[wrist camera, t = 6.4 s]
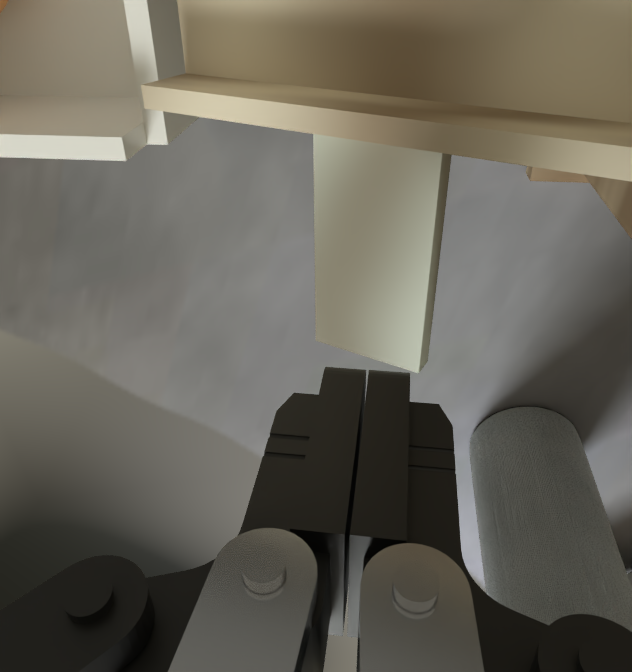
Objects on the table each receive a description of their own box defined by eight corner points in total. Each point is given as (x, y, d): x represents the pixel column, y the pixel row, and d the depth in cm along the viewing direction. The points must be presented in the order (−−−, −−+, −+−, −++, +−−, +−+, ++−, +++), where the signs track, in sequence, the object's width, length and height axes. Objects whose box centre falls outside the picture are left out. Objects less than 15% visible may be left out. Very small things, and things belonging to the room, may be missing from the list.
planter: (463, 478, 27) (488, 726, 19) (475, 401, 25) (511, 647, 16) (567, 486, 27) (643, 744, 18) (590, 407, 24) (690, 665, 16)
